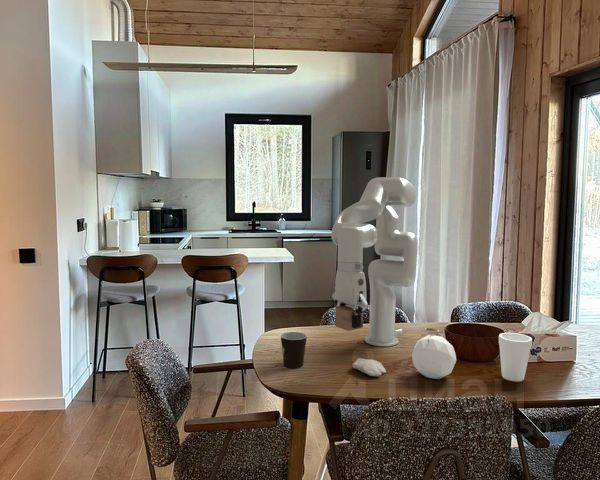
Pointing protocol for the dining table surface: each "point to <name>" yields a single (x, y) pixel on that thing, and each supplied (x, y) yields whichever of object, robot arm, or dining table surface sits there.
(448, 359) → the geodesic sphere
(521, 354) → the foam cup
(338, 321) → the walnut block
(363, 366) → the decorative stone
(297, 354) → the coffee mug
